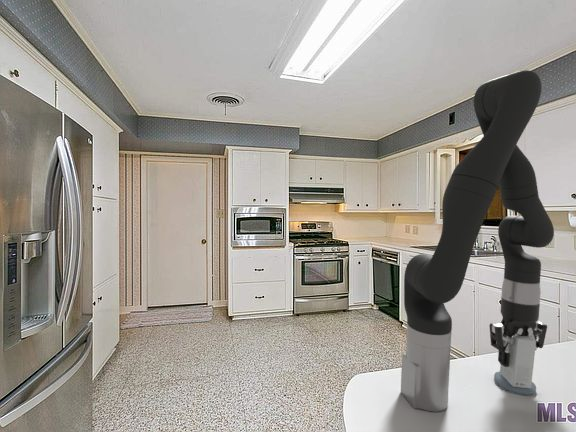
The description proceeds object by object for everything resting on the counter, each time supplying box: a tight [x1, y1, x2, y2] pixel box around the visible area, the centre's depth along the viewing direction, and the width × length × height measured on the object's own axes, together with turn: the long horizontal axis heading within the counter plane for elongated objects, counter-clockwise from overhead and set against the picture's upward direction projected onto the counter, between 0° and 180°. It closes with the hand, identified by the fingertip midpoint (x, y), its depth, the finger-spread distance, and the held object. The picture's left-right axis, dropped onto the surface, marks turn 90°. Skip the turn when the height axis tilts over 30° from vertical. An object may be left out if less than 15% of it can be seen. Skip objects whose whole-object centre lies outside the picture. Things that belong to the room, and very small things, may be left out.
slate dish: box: [493, 371, 537, 397], centre depth 78 cm, size 8×8×1 cm
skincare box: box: [499, 336, 537, 389], centre depth 77 cm, size 6×4×12 cm
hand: (515, 364), depth 77 cm, fingers open, 6 cm apart
